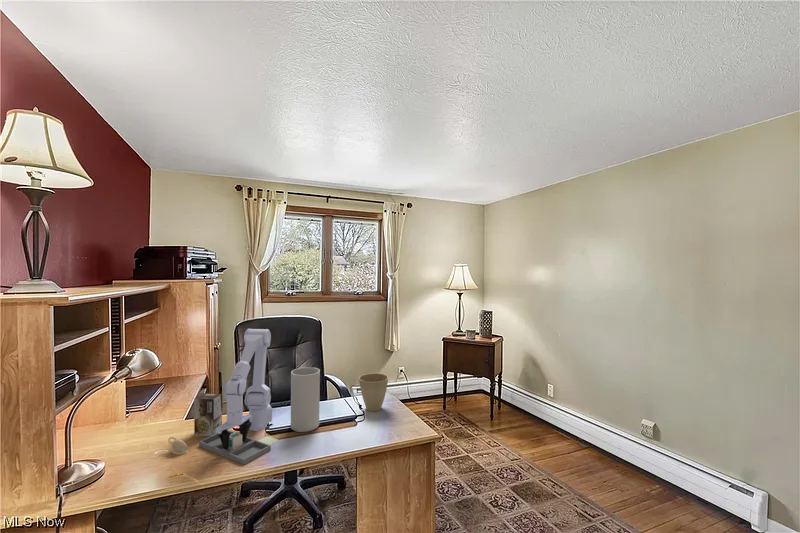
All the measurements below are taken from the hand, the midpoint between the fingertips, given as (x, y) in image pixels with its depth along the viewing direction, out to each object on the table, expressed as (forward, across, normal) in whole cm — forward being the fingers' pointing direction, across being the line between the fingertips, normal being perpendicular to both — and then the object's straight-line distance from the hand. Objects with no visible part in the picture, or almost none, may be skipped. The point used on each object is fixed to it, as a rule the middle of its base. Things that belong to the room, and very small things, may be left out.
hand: (234, 444), depth 144 cm
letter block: (+1, 0, 0) cm, 1 cm away
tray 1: (+2, 0, -9) cm, 9 cm away
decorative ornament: (+2, +12, -16) cm, 20 cm away
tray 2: (+2, 0, 0) cm, 2 cm away
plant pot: (+2, -62, +24) cm, 67 cm away
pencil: (+2, +16, +2) cm, 16 cm away
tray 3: (+2, 0, +9) cm, 9 cm away
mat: (+2, -10, +6) cm, 12 cm away
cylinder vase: (+2, -29, +10) cm, 31 cm away
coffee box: (+2, -3, -22) cm, 22 cm away
